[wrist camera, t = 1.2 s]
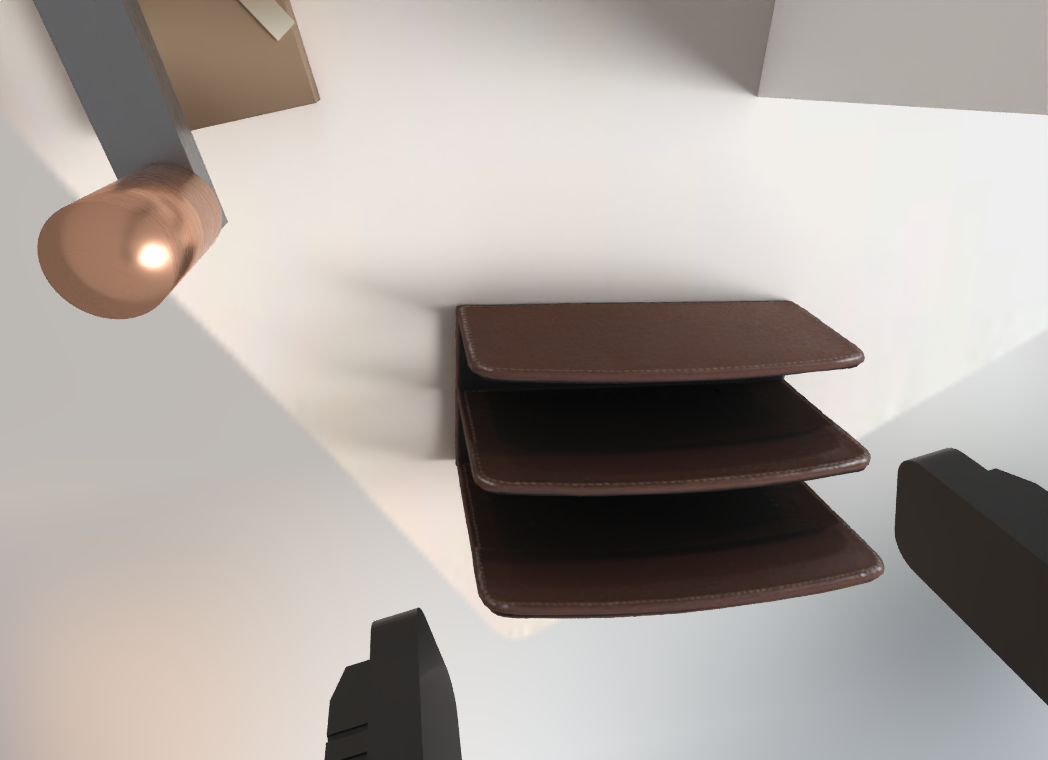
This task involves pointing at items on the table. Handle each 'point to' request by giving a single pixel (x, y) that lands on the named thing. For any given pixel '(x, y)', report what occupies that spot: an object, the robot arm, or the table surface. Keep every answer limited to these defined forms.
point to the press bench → (231, 57)
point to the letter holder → (650, 457)
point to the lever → (126, 169)
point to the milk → (911, 53)
